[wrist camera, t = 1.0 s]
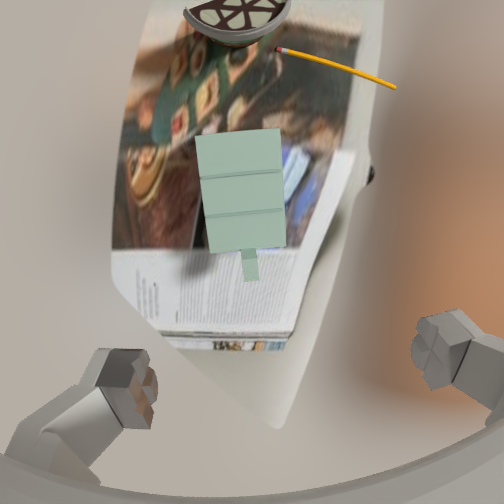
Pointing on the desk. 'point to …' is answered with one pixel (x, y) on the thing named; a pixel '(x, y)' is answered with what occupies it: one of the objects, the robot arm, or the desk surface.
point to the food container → (237, 20)
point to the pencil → (335, 66)
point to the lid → (242, 193)
